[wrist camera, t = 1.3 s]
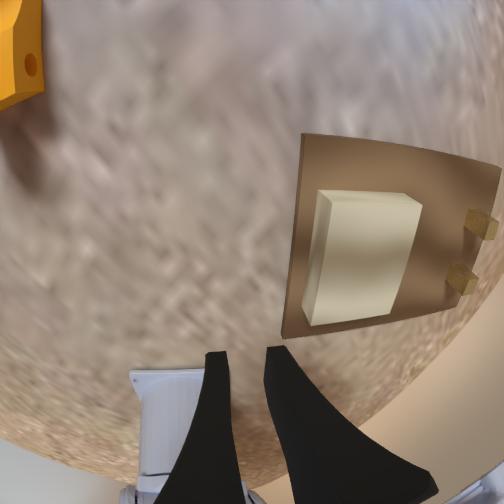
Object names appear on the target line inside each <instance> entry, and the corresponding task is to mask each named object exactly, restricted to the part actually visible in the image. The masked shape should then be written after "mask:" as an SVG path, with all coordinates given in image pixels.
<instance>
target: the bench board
mask: <svg viewBox="0 0 504 504" xmlns="http://www.w3.org/2000/svg"><path fill="white" fill-rule="evenodd" d="M501 170H502V168H500V167H497V166H494V165H491V164H487V163H484V162H480V161H476V160H472V159H468V158H464V157H460V156H456V155H452V154H447V153H443V152H438V151H433V150H428V149H423V148H418V147H413V146H407V145H401V144H395V143H389V142H382V141H375V140H368V139H360V138H351V137H342V136H332V135H321V134H308V133H302V134H301V148H300V161H299V173H298V184H297V195H296V206H295V216H294V226H293V236H292V245H291V254H290V263H289V272H288V280H287V289H286V297H285V305H284V312H283V320H282V328H281V336H282V339H287V338H296V337H303V336H311V335H318V334H325V333H332V332H338V331H344V330H350V329H356V328H362V327H368V326H373V325H378V324H384V323H389V322H394V321H398V320H403V319H408V318H413V317H417V316H421V315H426V314H430V313H434V312H438V311H442V310H446V309H450V308H454V307H456V306H457V304H458V302H459V299H460V297H461V294H460V293H459V292H458V291H457V290H456V289H455V288H454V287H453V286H452V285H451V284H450V283H449V282H448V281H447V280H446V279H445V278H446V276H447V273H448V270H449V268H450V265H451V264H455V263H462V264H463V265H465V266H466V267H467V268H468V269H469V270H470V271H472V269H473V266H474V263H475V261H476V258H477V255H478V252H479V250H480V247H481V244H482V241H483V239H481V238H480V237H479V236H477V235H476V234H475V233H473V232H472V231H470V230H469V229H468V228H466V227H465V226H463V225H464V222H465V218H466V215H467V211H468V208H474V209H480V210H481V211H483V212H484V213H486V214H488V215H489V216H490V215H491V212H492V208H493V204H494V201H495V197H496V193H497V188H498V184H499V180H500V175H501ZM318 190H344V191H370V192H390V193H404V194H406V195H407V196H409V197H411V198H412V199H414V200H415V201H417V202H419V203H420V204H422V205H423V206H422V210H421V214H420V218H419V222H418V226H417V230H416V234H415V237H414V241H413V244H412V248H411V251H410V255H409V258H408V261H407V265H406V268H405V271H404V274H403V277H402V280H401V283H400V286H399V289H398V292H397V295H396V298H395V300H394V303H393V306H392V308H391V311H390V314H385V315H380V316H374V317H368V318H362V319H356V320H350V321H343V322H336V323H329V324H322V325H315V326H310V324H309V321H308V319H307V317H306V315H305V313H304V311H303V308H302V300H303V294H304V287H305V281H306V275H307V268H308V262H309V255H310V248H311V241H312V233H313V226H314V218H315V210H316V202H317V194H318Z"/></svg>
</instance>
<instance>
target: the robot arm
mask: <svg viewBox="0 0 504 504" xmlns="http://www.w3.org/2000/svg"><path fill="white" fill-rule="evenodd" d="M129 378H130V380H131V383H132V385H133V387H134V390H135V392H136V394H137V396H138V399H139V401H140V403H141V405H142V407H141V422H140V442H139V476H137V489H138V490H135V486H133V485H127V486H126V488H124V489H122V490H121V491H120V496H119V504H266V503H265V501H264V500H263V499H262V498H261V497H260V496H259V495H258V494H257V493H255V492H254V491H252V490H247V487H246V482H245V480H241V477H240V472H239V467H238V462H237V456H236V451H235V445H234V439H233V434H232V425H231V407H230V380H229V365H228V359H227V354H226V351H220V352H208V353H207V354H206V355H205V368H202V369H180V370H132V371H130V372H129ZM264 387H265V392H266V397H267V402H268V407H269V410H270V413H271V416H272V419H273V422H274V425H275V429H276V432H277V435H278V438H279V441H280V444H281V447H282V450H283V453H284V456H285V460H286V463H287V468H288V472H289V477H290V481H291V486H292V491H293V496H294V501H295V504H420V503H421V502H423V501H425V500H427V499H429V498H431V497H432V496H434V495H436V494H437V493H438V491H439V489H438V487H437V485H436V483H435V481H434V479H433V477H432V476H431V475H430V473H429V471H427V470H424V469H422V468H420V467H417V466H416V465H413V464H411V463H410V462H408V461H406V460H404V459H402V458H400V457H398V456H397V455H395V454H393V453H391V452H390V451H388V450H387V449H385V448H384V447H382V446H381V445H379V444H378V443H376V442H375V441H373V440H372V439H370V438H369V437H368V436H366V435H365V434H364V433H363V432H361V431H360V430H359V429H358V428H356V427H355V426H354V425H353V424H352V423H351V422H349V421H348V420H347V419H346V418H345V417H344V416H343V415H342V414H341V413H340V412H339V411H338V410H337V409H336V408H335V407H334V406H333V405H332V404H331V403H330V402H329V401H328V400H327V399H326V398H325V397H324V396H323V395H322V394H321V392H320V391H319V390H318V389H317V388H316V386H315V385H314V384H313V383H312V382H311V381H310V379H309V378H308V377H307V376H306V374H305V373H304V372H303V370H302V369H301V368H300V366H299V365H298V364H297V362H296V361H295V359H294V358H293V356H292V355H291V354H290V352H289V350H288V349H287V347H285V346H284V345H283V346H274V347H267V353H266V362H265V372H264ZM442 504H504V460H503V461H502V462H500V463H499V464H498V465H497V466H495V467H494V468H493V469H492V470H490V471H489V472H487V473H486V474H484V475H482V476H481V477H480V478H478V479H477V480H475V481H474V482H472V483H471V484H470V485H468V486H467V487H465V488H464V489H462V490H461V491H460V493H458V494H457V495H455V496H454V497H452V498H450V499H449V500H447V501H446V502H444V503H442Z"/></svg>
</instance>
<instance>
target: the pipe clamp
mask: <svg viewBox="0 0 504 504" xmlns="http://www.w3.org/2000/svg"><path fill="white" fill-rule="evenodd" d="M41 12H42V0H0V111H2V110H4V109H6V108H8V107H10V106H12V105H14V104H16V103H19V102H21V101H23V100H25V99H27V98H29V97H32V96H34V95H36V94H39V93H41V92H44V91H45V86H44V76H43V63H42V41H41Z"/></svg>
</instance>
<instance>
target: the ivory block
mask: <svg viewBox="0 0 504 504" xmlns="http://www.w3.org/2000/svg"><path fill="white" fill-rule="evenodd" d="M422 206H423V205H422V204H420V203H419V202H417V201H415V200H414V199H412V198H411V197H409V196H407V195H406V194H404V193H390V192H370V191H344V190H318V194H317V202H316V210H315V218H314V226H313V233H312V241H311V248H310V255H309V262H308V268H307V275H306V281H305V287H304V294H303V300H302V308H303V311H304V313H305V315H306V317H307V319H308V321H309V324H310V326H315V325H322V324H329V323H336V322H343V321H350V320H356V319H362V318H368V317H374V316H380V315H385V314H390V311H391V308H392V306H393V303H394V300H395V298H396V295H397V292H398V289H399V286H400V283H401V280H402V277H403V274H404V271H405V268H406V265H407V261H408V258H409V255H410V251H411V248H412V244H413V241H414V237H415V234H416V230H417V226H418V222H419V218H420V214H421V210H422Z"/></svg>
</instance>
